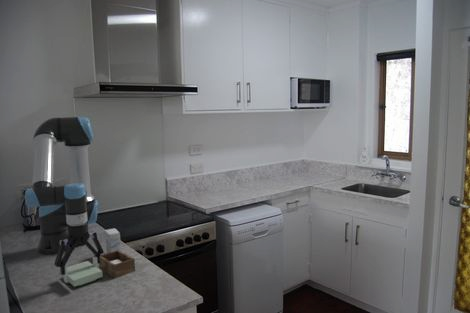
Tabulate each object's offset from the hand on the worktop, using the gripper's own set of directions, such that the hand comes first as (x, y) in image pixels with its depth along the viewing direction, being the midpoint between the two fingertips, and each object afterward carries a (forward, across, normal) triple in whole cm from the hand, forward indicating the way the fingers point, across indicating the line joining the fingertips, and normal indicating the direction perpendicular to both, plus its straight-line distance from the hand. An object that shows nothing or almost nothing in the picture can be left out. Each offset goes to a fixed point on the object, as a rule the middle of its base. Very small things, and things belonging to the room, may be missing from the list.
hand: (81, 276), depth 143 cm
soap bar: (+1, +14, -2) cm, 14 cm away
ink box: (+2, +21, +15) cm, 26 cm away
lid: (+1, 0, 0) cm, 1 cm away
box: (+2, +14, -2) cm, 14 cm away
